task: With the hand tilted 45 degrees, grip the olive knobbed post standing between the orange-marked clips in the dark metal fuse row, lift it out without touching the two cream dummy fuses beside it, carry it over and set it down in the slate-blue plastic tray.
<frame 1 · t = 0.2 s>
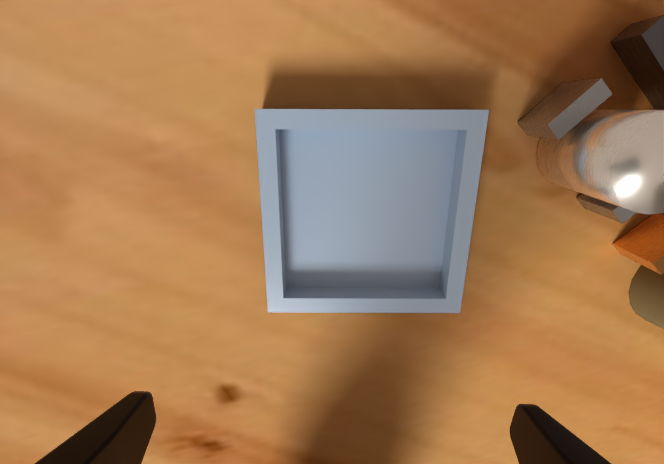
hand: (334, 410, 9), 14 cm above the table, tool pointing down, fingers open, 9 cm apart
tray: (364, 211, 22), on the table
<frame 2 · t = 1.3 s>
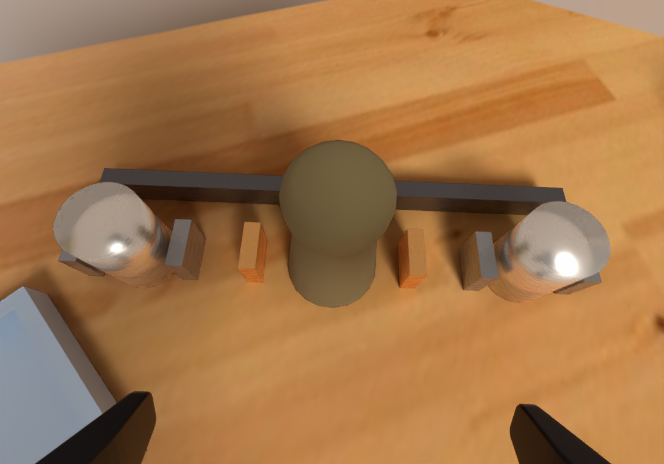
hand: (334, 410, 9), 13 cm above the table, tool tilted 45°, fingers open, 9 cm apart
olive knobbed post: (331, 264, 25), on the table
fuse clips: (332, 263, 24), on the table
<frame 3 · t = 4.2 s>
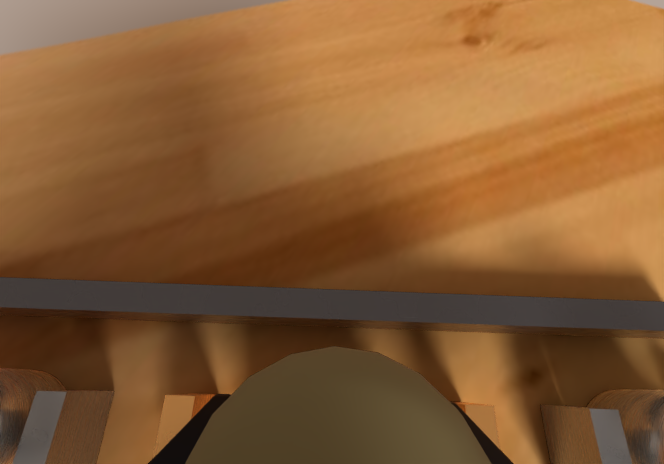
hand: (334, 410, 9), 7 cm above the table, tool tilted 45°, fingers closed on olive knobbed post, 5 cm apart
olive knobbed post: (327, 438, 14), on the table, touching gripper
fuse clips: (327, 439, 14), on the table
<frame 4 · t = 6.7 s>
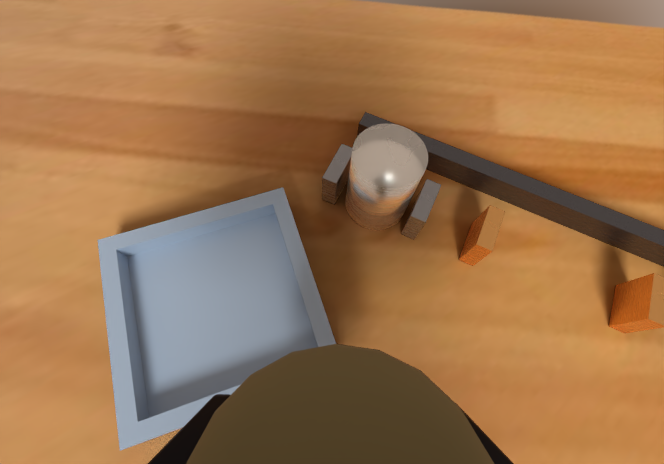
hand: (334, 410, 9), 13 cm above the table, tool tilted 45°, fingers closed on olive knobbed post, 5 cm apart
tray: (222, 306, 23), on the table
olive knobbed post: (332, 436, 14), point 6 cm above the table, touching gripper
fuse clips: (543, 275, 24), on the table
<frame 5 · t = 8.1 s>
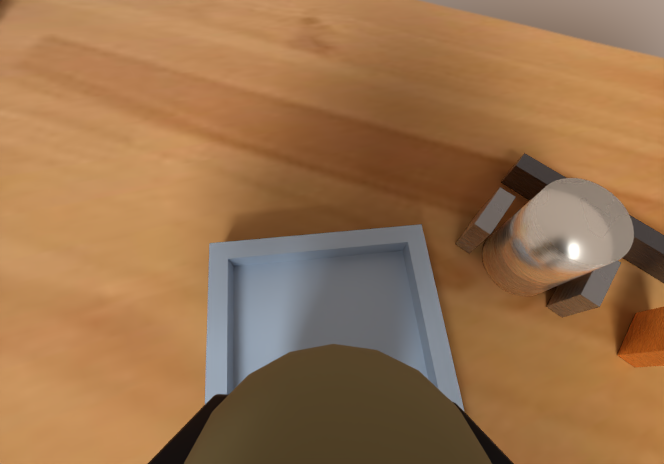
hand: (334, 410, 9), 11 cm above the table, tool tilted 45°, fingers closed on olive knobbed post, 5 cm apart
tray: (328, 347, 19), on the table
olive knobbed post: (331, 436, 14), point 4 cm above the table, touching gripper
when the fingers open (8 cm above the table, at t = 9.3 s): olive knobbed post stays where it is, resting on tray.
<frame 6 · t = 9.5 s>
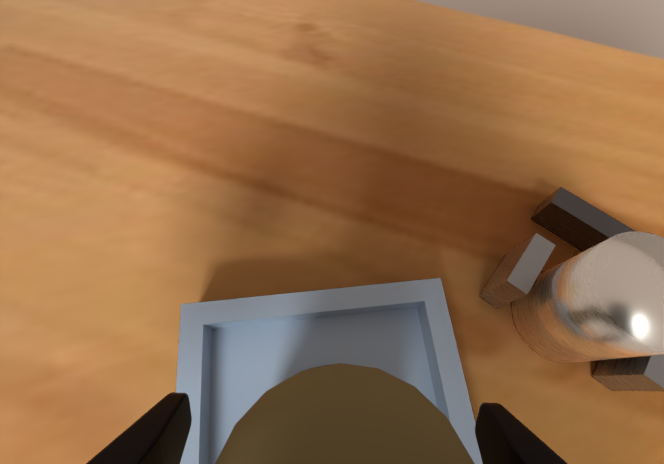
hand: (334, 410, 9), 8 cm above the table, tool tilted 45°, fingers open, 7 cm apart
tray: (327, 433, 16), on the table
olive knobbed post: (331, 438, 15), resting on tray
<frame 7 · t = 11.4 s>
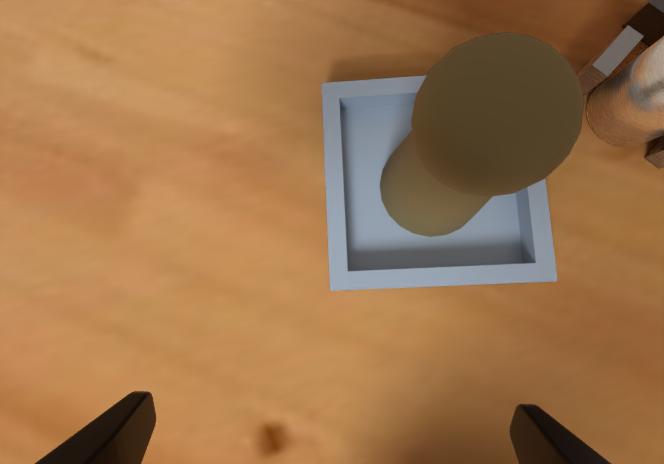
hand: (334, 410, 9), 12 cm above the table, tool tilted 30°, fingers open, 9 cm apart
tray: (425, 185, 22), on the table
olive knobbed post: (430, 187, 21), resting on tray
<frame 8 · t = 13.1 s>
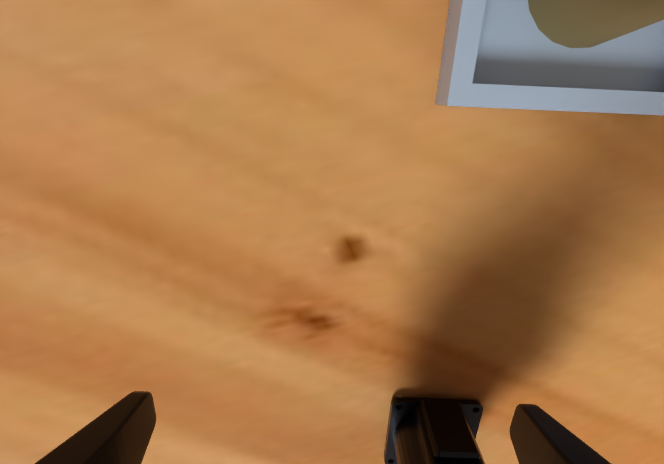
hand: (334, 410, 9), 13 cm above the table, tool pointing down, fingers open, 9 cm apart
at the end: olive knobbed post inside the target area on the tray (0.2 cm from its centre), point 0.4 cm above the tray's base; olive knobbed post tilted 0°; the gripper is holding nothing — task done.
